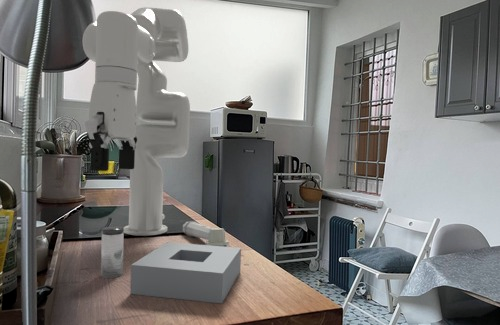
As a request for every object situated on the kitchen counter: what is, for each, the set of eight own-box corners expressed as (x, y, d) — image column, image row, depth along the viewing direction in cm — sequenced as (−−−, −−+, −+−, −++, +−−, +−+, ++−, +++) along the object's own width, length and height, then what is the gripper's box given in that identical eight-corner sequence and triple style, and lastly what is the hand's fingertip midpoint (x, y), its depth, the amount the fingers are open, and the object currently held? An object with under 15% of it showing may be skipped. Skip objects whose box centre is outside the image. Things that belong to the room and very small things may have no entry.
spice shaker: (108, 270, 74) (109, 225, 74) (126, 272, 73) (127, 227, 73) (96, 276, 70) (97, 230, 70) (116, 278, 69) (117, 231, 69)
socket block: (166, 265, 78) (167, 242, 78) (240, 272, 76) (241, 247, 76) (130, 293, 63) (131, 264, 62) (221, 303, 60) (222, 273, 60)
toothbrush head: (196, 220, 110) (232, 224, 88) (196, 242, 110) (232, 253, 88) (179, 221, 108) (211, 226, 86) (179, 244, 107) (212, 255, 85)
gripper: (121, 88, 79) (118, 167, 80) (69, 69, 62) (66, 170, 63) (153, 88, 78) (151, 169, 79) (110, 69, 61) (107, 172, 62)
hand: (113, 169), depth 71 cm, fingers open, 9 cm apart
